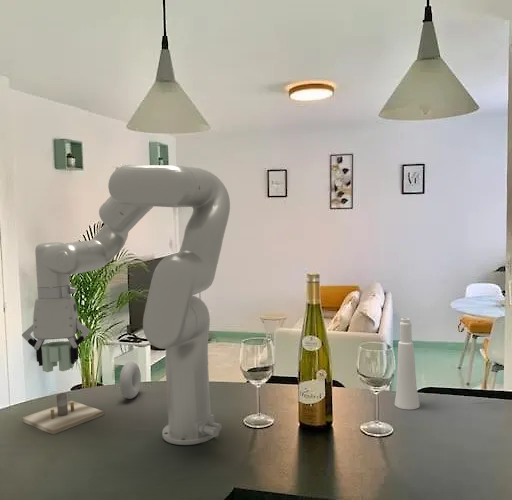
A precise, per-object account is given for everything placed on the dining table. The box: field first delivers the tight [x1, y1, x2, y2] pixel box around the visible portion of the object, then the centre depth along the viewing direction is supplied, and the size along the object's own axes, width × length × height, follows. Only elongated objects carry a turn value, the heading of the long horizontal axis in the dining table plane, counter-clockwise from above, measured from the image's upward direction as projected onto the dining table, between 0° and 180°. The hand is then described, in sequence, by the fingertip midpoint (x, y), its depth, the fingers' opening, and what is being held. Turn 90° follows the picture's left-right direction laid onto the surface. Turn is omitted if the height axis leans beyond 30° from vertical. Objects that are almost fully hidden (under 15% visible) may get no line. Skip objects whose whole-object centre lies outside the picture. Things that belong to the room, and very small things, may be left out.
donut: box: [119, 361, 142, 400], centre depth 146 cm, size 10×4×10 cm, turn 172°
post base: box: [21, 392, 104, 435], centre depth 134 cm, size 14×14×6 cm
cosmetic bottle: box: [394, 317, 421, 411], centre depth 132 cm, size 6×6×22 cm
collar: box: [41, 340, 75, 373], centre depth 133 cm, size 7×7×6 cm
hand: (58, 362), depth 133 cm, fingers closed on collar, 7 cm apart
